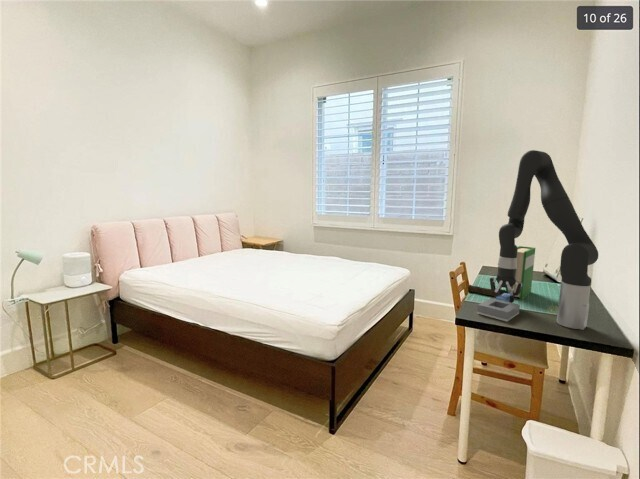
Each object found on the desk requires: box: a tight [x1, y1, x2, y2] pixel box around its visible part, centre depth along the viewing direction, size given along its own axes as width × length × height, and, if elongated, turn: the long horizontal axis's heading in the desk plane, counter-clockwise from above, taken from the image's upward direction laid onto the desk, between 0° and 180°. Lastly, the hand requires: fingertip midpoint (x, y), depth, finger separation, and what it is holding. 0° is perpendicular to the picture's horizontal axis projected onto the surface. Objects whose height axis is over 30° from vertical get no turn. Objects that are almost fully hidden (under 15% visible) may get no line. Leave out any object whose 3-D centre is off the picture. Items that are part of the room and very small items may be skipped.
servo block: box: [496, 293, 510, 302], centre depth 156 cm, size 4×10×5 cm, turn 132°
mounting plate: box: [476, 297, 521, 322], centre depth 144 cm, size 12×14×4 cm
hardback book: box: [505, 245, 536, 300], centre depth 170 cm, size 18×7×24 cm, turn 135°
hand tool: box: [467, 284, 508, 298], centre depth 169 cm, size 19×4×5 cm, turn 44°
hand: (504, 301), depth 156 cm, fingers open, 5 cm apart
